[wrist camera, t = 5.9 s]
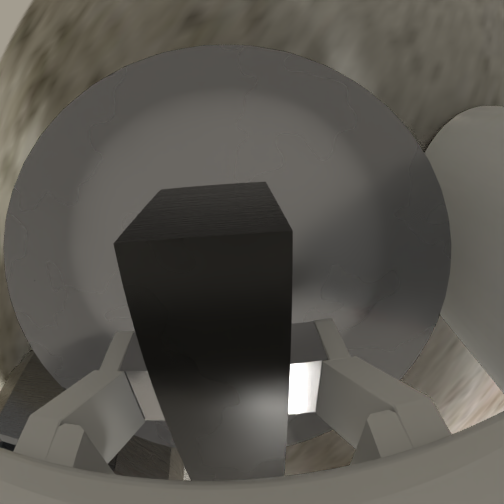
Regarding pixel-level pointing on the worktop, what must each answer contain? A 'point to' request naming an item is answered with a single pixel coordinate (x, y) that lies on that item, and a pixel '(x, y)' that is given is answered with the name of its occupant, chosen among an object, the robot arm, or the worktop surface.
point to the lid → (226, 241)
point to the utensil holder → (475, 230)
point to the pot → (47, 388)
